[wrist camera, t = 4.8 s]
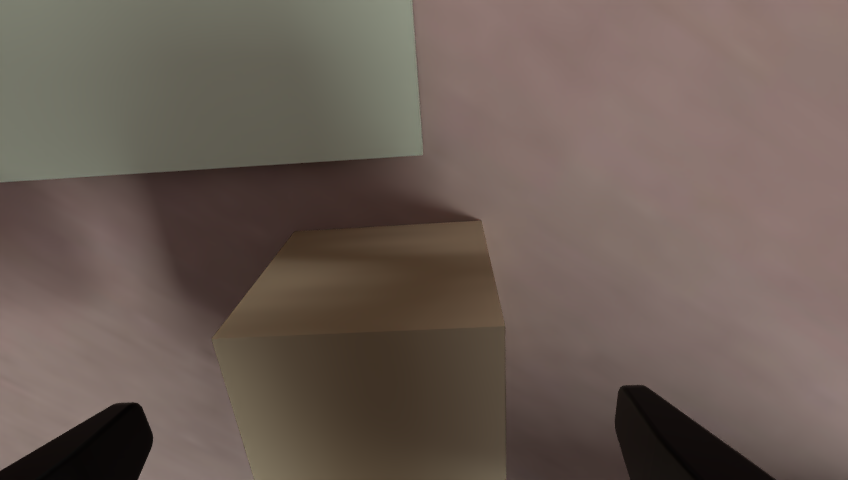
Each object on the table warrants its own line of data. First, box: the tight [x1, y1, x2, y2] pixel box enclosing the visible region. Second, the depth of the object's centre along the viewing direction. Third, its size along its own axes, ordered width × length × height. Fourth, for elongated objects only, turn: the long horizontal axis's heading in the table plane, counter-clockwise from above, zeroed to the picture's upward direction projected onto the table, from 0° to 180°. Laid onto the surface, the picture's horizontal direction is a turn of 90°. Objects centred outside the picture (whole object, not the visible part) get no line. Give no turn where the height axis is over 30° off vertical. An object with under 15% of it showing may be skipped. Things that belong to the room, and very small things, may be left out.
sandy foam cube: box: [212, 221, 506, 480], centre depth 10 cm, size 4×4×4 cm
